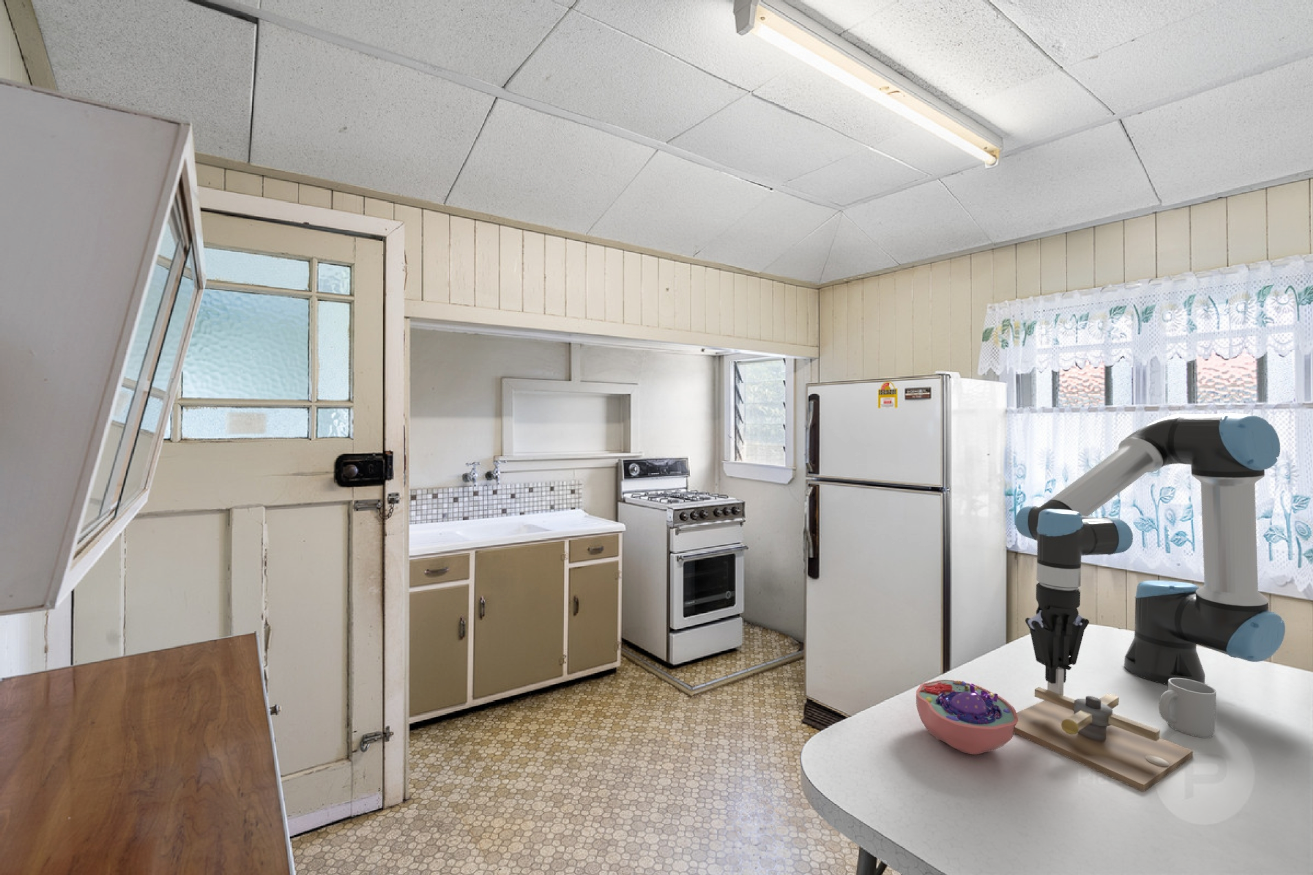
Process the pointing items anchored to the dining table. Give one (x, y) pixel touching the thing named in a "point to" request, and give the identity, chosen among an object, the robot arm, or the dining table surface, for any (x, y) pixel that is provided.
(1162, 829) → the dining table surface
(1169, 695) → the cup
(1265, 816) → the dining table surface
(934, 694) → the cell model
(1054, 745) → the stand
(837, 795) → the dining table surface
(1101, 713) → the capstan
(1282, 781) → the dining table surface
